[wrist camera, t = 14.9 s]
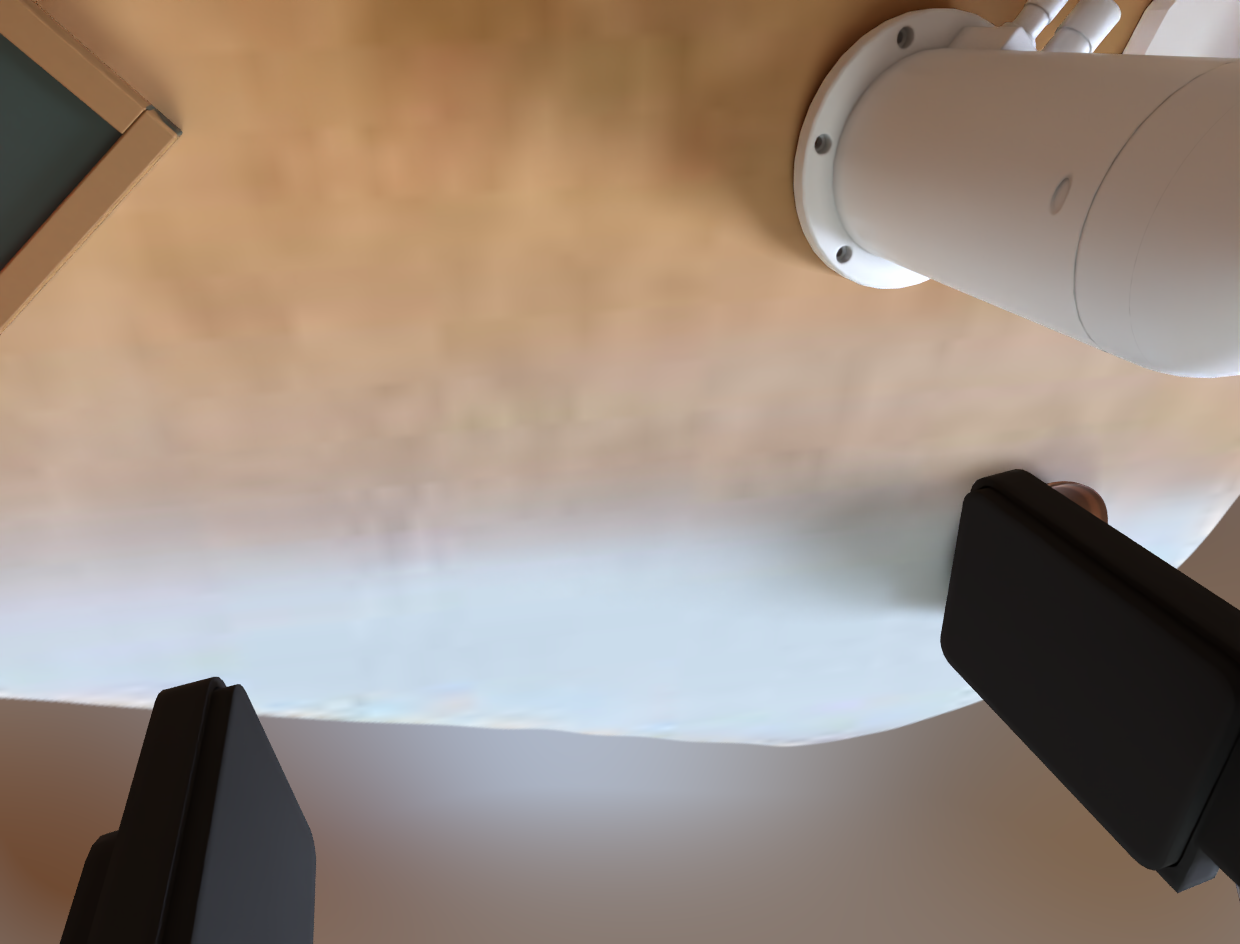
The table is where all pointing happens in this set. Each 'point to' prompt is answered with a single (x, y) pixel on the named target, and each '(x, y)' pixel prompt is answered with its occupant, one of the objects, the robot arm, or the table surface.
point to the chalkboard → (61, 148)
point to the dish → (1188, 29)
